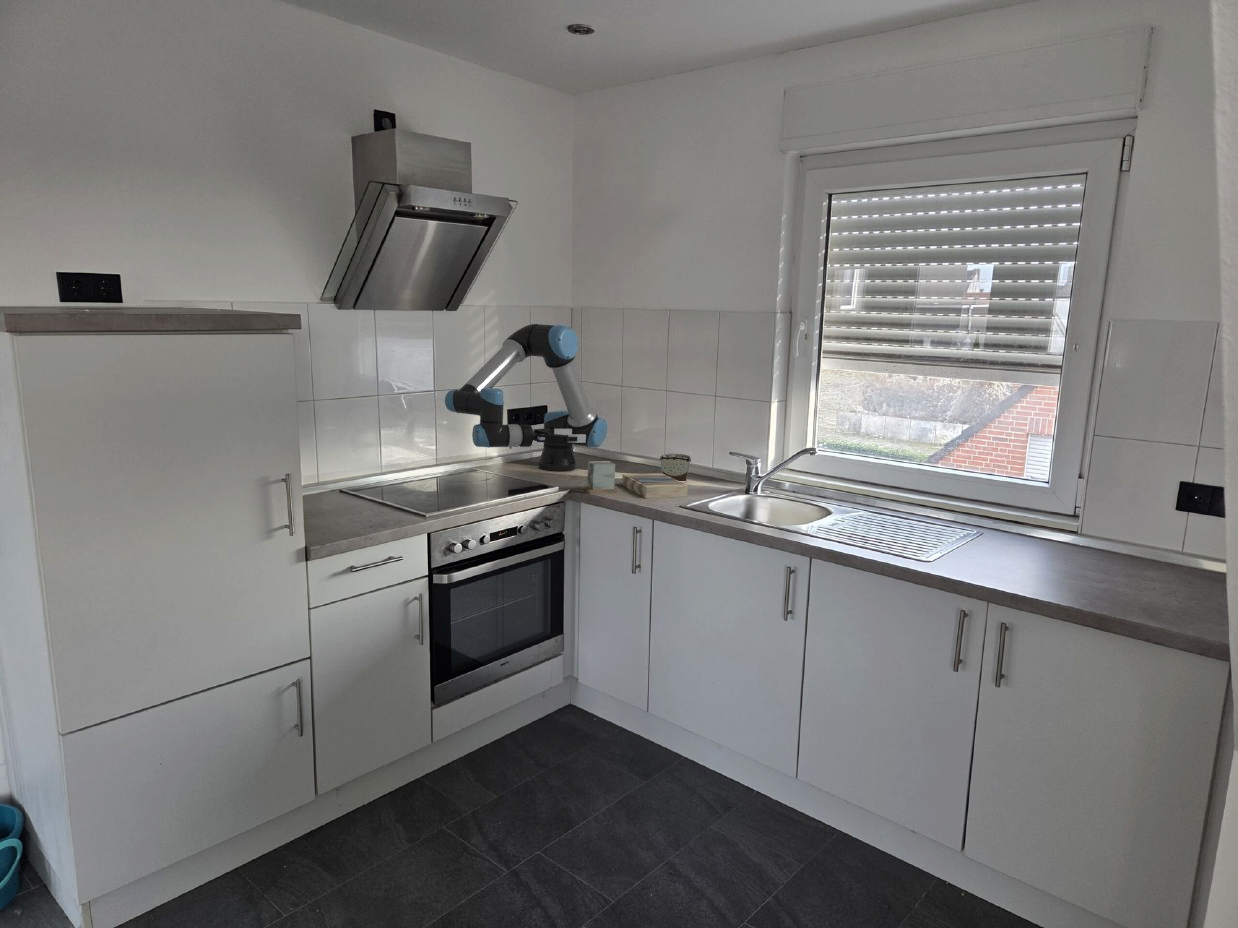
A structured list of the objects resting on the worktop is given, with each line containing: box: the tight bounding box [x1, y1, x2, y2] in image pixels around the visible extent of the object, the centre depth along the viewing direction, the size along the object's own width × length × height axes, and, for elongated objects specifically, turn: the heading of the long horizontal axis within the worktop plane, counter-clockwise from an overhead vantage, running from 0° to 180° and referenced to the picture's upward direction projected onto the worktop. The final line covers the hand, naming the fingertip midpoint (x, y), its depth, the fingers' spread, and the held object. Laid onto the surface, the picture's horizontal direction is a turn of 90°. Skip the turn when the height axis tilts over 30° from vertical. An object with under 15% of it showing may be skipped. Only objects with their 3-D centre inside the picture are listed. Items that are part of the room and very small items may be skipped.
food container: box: [659, 453, 692, 482], centre depth 315 cm, size 12×6×10 cm, turn 84°
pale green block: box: [584, 460, 618, 495], centre depth 289 cm, size 6×10×10 cm, turn 112°
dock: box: [621, 472, 689, 499], centre depth 295 cm, size 22×16×4 cm
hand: (578, 435), depth 282 cm, fingers open, 13 cm apart
